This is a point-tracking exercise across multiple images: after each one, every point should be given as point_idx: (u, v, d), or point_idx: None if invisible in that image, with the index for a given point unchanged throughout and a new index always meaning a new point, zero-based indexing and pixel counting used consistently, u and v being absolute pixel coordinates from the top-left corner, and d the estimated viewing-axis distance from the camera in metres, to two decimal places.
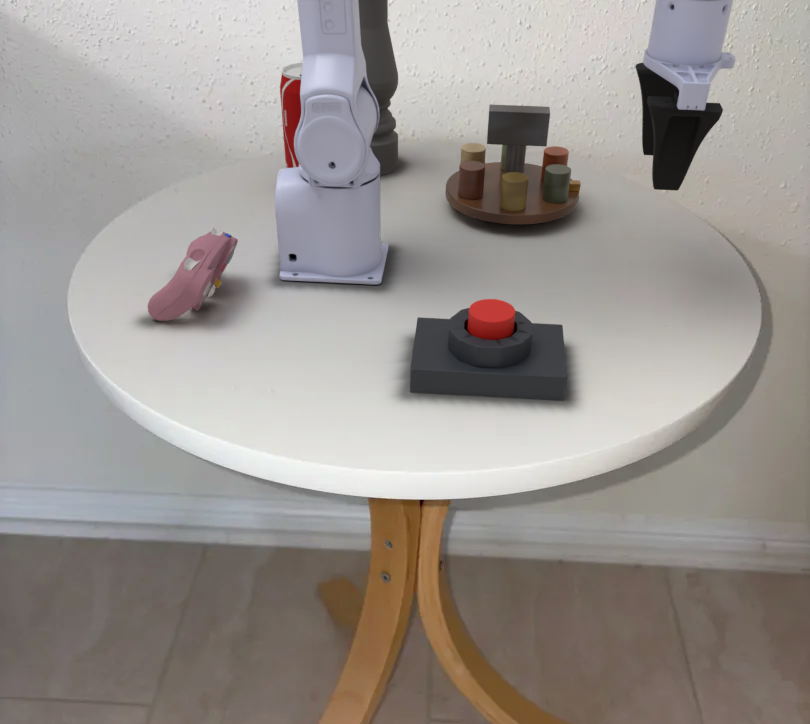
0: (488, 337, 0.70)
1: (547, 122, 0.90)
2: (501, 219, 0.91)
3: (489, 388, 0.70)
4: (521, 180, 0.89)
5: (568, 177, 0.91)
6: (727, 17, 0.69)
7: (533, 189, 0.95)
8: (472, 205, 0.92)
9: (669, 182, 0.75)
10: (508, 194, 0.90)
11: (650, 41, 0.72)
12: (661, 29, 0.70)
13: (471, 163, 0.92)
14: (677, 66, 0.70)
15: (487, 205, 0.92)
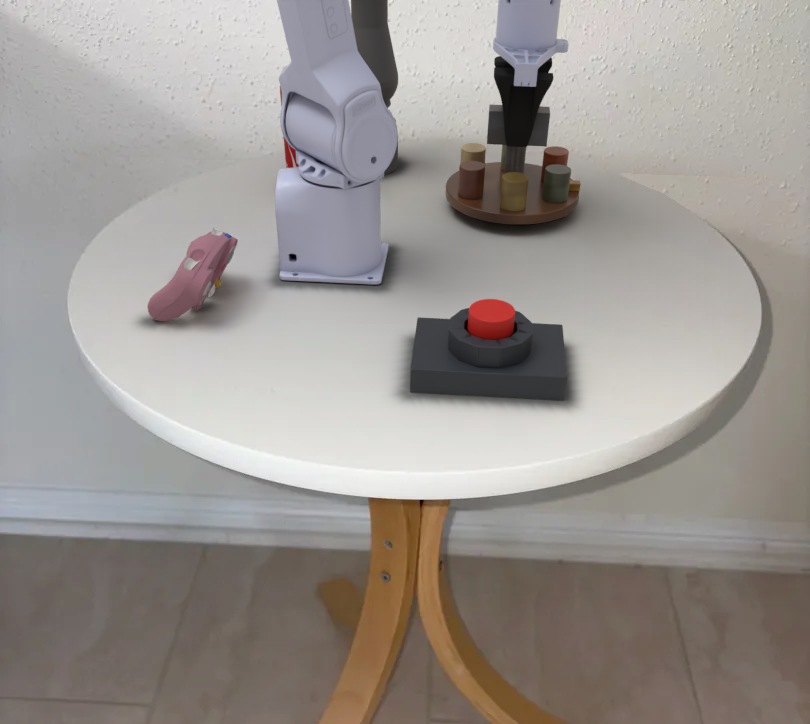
0: (488, 337, 0.70)
1: (547, 122, 0.90)
2: (501, 219, 0.91)
3: (489, 388, 0.70)
4: (521, 180, 0.89)
5: (568, 177, 0.91)
6: (556, 9, 0.83)
7: (533, 189, 0.95)
8: (472, 205, 0.92)
9: (518, 140, 0.91)
10: (508, 194, 0.90)
11: (496, 29, 0.85)
12: (502, 20, 0.84)
13: (471, 163, 0.92)
14: (517, 50, 0.84)
15: (487, 205, 0.92)
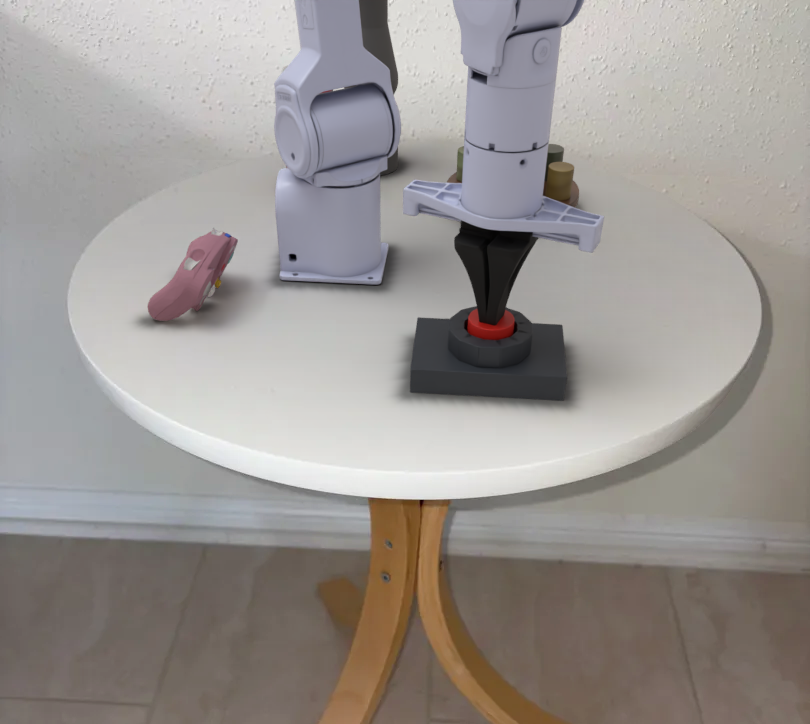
0: None
1: None
2: None
3: (489, 388, 0.70)
4: (571, 166, 0.92)
5: None
6: None
7: None
8: None
9: (501, 311, 0.70)
10: (568, 183, 0.92)
11: (492, 204, 0.62)
12: (514, 188, 0.61)
13: None
14: (534, 215, 0.63)
15: None
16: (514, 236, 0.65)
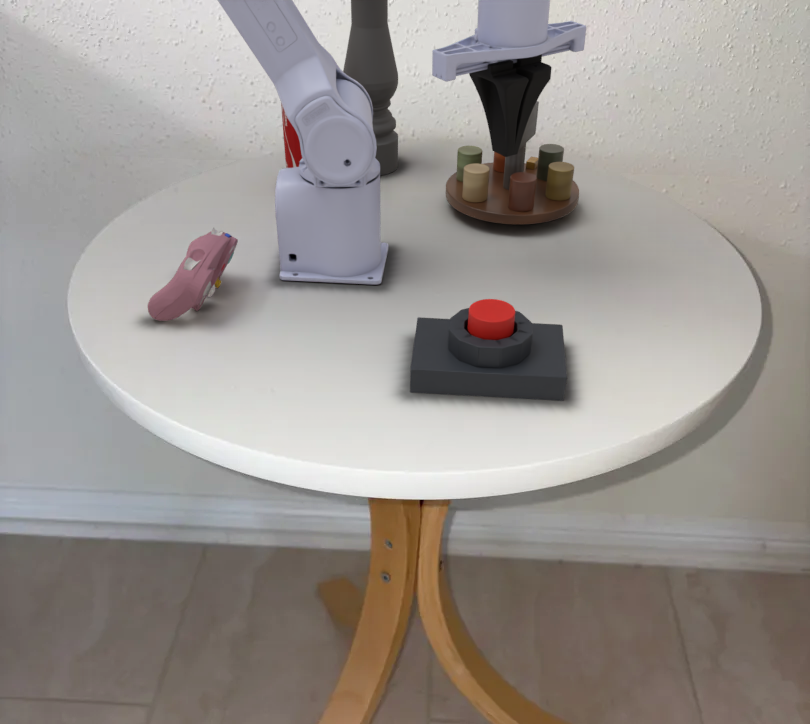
0: (488, 337, 0.70)
1: (537, 110, 0.92)
2: (571, 208, 0.93)
3: (489, 388, 0.70)
4: (571, 166, 0.92)
5: None
6: None
7: None
8: (545, 210, 0.91)
9: None
10: (568, 183, 0.92)
11: (538, 31, 0.72)
12: (548, 11, 0.72)
13: (518, 176, 0.90)
14: None
15: (549, 204, 0.92)
16: (531, 61, 0.76)
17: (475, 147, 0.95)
